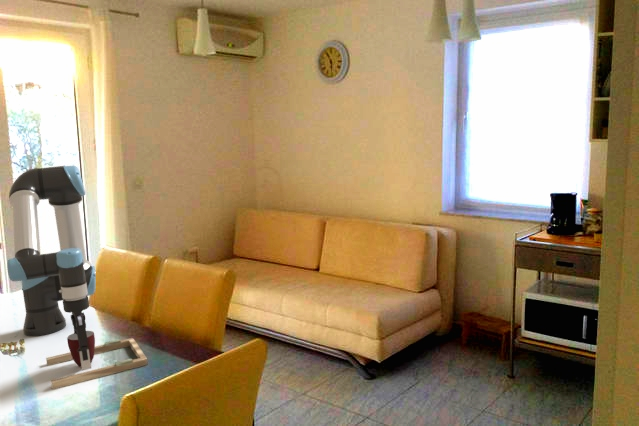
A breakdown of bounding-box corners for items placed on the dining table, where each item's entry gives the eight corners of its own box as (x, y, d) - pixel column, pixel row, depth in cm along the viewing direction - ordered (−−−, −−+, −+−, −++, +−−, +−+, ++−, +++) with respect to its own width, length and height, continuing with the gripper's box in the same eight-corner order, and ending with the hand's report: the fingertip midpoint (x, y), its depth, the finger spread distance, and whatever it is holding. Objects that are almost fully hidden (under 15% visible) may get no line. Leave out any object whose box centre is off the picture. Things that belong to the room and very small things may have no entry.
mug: (98, 368, 179) (94, 339, 178) (71, 374, 176) (67, 344, 174) (97, 357, 189) (93, 328, 187) (71, 362, 186) (67, 333, 184)
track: (47, 363, 187) (45, 356, 187) (133, 343, 201) (132, 336, 200) (52, 389, 168) (51, 381, 167) (147, 364, 181) (146, 356, 181)
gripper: (59, 291, 187) (68, 354, 191) (65, 309, 167) (75, 378, 171) (83, 287, 191) (92, 349, 194) (92, 303, 171) (101, 372, 174)
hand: (84, 363), depth 182 cm, fingers closed on mug, 10 cm apart
